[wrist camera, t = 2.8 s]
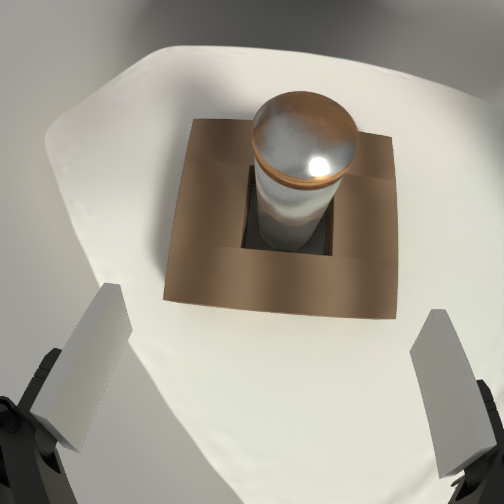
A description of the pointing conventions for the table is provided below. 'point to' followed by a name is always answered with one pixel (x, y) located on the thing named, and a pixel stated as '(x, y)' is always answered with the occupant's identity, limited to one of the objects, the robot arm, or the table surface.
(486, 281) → the table surface
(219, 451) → the table surface
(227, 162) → the pocket block
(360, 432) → the table surface
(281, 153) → the steel peg
